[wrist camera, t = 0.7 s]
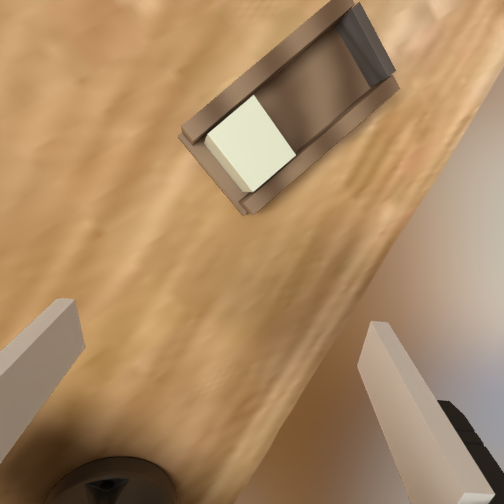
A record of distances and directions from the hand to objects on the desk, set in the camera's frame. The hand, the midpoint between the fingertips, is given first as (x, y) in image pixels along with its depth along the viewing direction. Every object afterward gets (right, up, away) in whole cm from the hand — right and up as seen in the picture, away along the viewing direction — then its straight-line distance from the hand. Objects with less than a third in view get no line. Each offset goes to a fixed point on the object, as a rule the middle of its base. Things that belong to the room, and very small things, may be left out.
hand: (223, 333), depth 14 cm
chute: (+5, +18, +18) cm, 26 cm away
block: (0, +14, +16) cm, 21 cm away
